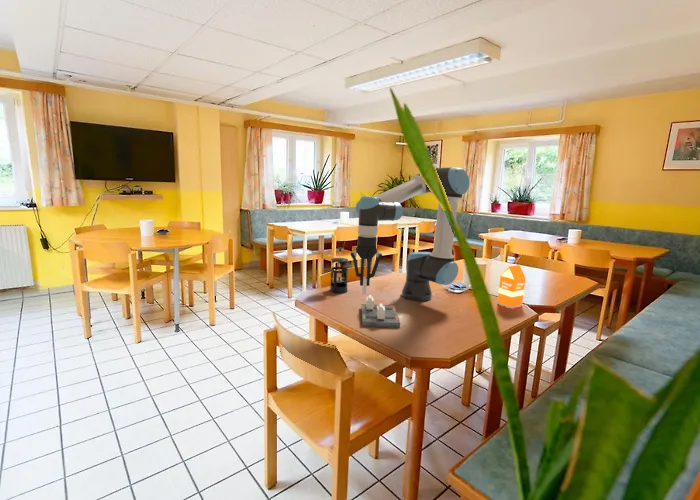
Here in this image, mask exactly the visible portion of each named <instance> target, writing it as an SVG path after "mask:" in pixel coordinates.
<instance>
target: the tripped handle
mask: <svg viewBox="0 0 700 500" xmlns="http://www.w3.org/2000/svg"><path fill="white" fill-rule="evenodd" d="M378 305H379V306H377V319H385V307H384V306H383V305H384V304H383V303H378Z"/></svg>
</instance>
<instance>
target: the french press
mask: <svg viewBox="0 0 700 500" xmlns="http://www.w3.org/2000/svg"><path fill="white" fill-rule="evenodd" d="M335 249H336V250H338V251H339V253H341V252H342V250H345V249H344V248H343V247H336V248H335ZM330 259H331V260H330V261H331V264H332V265H333V264H334V263H338V265H339V266H332V267H331V268H330V287H329V288H330V289H329V292H331V293H332V294H346V293H348V291H349V290H348V275H349V273H348V272H349V268H348V267H346V265H348V262H349V259H348V258H344V257H333V258H330ZM340 274H341V275H340Z"/></svg>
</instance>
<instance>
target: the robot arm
mask: <svg viewBox="0 0 700 500" xmlns="http://www.w3.org/2000/svg"><path fill="white" fill-rule="evenodd" d="M435 168H436V170H437V173H438V175H439V178H440V180H441V182H442V185H443V187H444V189H445V192H446V195H447V198H448V201H449V204H450V206H451V210H452V213H453V216H454V218H455V220H457V212H458V205H459V202H460V201H461V200H462V199H463V195H465V194H466V193H467V192H468V190H469V188H470V177H469V174H468V173H467V171H466V170H465V169H464V168H462V167H452V166H451V167H435ZM427 193H432V192H431V191H430V190H429V188H428V187H427V185H426V184H425V182H424V180H423V179H422V177H421V176H420V173H418V174H416V175H414V176H412V177H411V179H409V180H408V181H405V182H404V183H401V184H399V185H398V186H395V187H393V188H391V189H389V190H387V191H384V192H382V193H379V194H378V195H375V196H369V195H368V196H361V197H360V199H359V200H358V201H357V202H356V204H355V212H356V213H357V216H358V230H357V234H358V236H357V246H356V248H355V250H354V251H351V252H350V256H351V258H352V262H353V268H354V272H355V277H358V278H359V285H360V286H361V287H362V290H361V291H362V292H361V293H362V295H367V287H369V286H370V279H371V278H374V277H375V275H376V271H377V269H378V266H379V264H380V263H379V262H380V260H381V259H382V257H383V254H382V253H381V252H379V251H378V248H377V242H378V238H377V235H378V227H379V226H378V224H379V221H381V222H383V221H391V222H393V221H398V220H401V218H402V216H403V213H404V212H403V206H402V205H401V203H403V202H405V201H407V200H410V199H411V198H413V197H415V196H417V195H418V196H422V195H424V194H427ZM436 214H437V215H436V224H435V231H434V242H433V248H432V249H433V250H432V252H430V251H415V252H410V253H408V254H407V260H406V280H405V282H404V285H403V287H402V289H401V296H402V297H403V298H404V299H407V300H411V301H419V302H423V301H429V300H431V299H432V297H433V295H432V294H433V292H432V289H431V285H430V282H432V283H435V284H438V285H442V286H449V285H451V284H452V283H453V282H454V281H455V280H456V279H457V276H458V274H459V266H458V263H456V261H455V258H456V257H455V255H453V245H454V244H453V243H454V238H455V237H454V236H455V233H454V234H453V232H452V229H451V226H450V225H449V222H448V219H447V217H446V214H445V212H444V211H443V209H442V208H441V206H440V204H439V203H438V206H437V213H436ZM357 255H358V257H359V258H360V272H359V266H358V262H357ZM374 257H375V261H374V264H373V267H372V270H371V265H372V259H373V258H374ZM365 260H367V265H366V266H367V267H366V276H364V272H365Z"/></svg>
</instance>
